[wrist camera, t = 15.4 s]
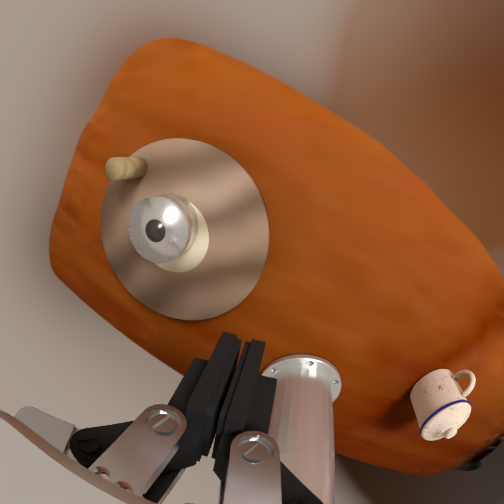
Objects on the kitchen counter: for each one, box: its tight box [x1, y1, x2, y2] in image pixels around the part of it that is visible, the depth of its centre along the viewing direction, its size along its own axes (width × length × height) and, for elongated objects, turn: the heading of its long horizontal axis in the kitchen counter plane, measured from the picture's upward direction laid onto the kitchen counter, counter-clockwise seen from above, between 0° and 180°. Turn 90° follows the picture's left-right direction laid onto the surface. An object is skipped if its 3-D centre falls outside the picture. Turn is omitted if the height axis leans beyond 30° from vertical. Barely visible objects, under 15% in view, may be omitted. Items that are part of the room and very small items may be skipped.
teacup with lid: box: [410, 369, 476, 440], centre depth 29 cm, size 12×9×12 cm
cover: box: [128, 193, 199, 263], centre depth 28 cm, size 7×7×4 cm
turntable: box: [101, 138, 270, 320], centre depth 29 cm, size 22×22×6 cm
